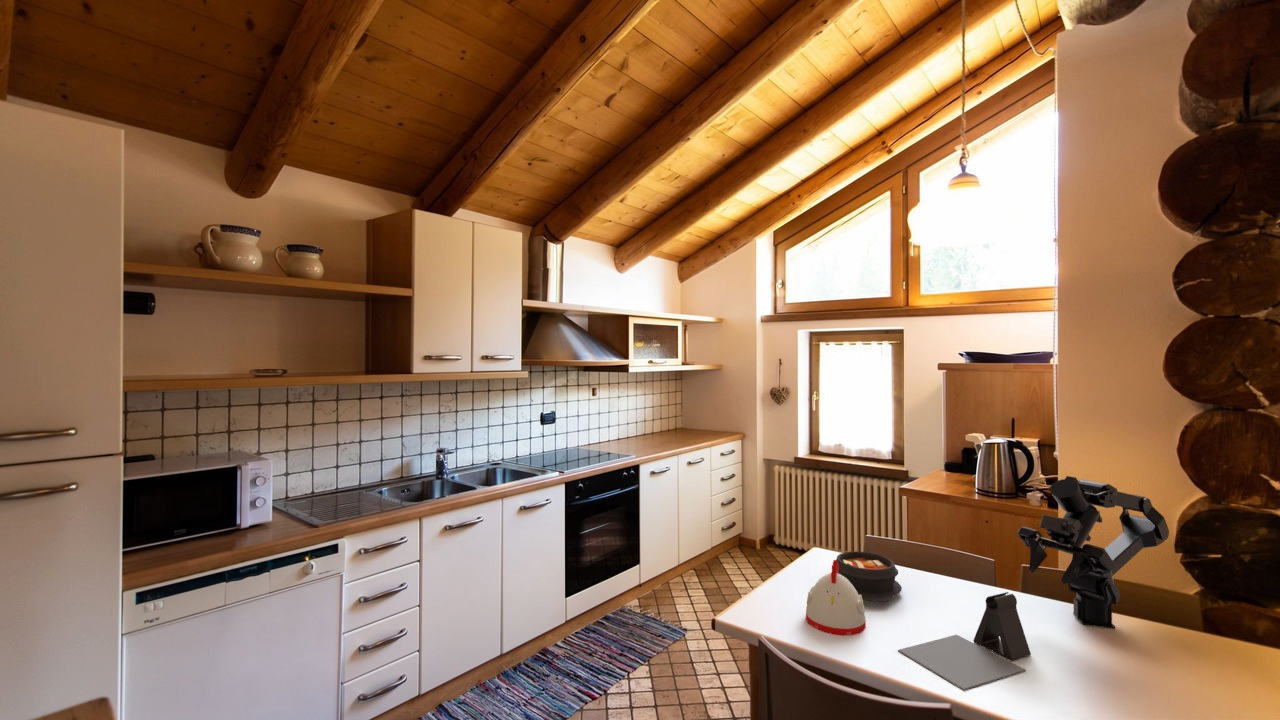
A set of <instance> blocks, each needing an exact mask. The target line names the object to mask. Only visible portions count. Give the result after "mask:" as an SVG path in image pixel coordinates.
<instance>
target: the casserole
mask: <svg viewBox="0 0 1280 720" xmlns="http://www.w3.org/2000/svg"><path fill="white" fill-rule="evenodd" d="M835 560H837V563H838V565H839V574H840V575H842V576H844V577H845V578H846V579H848V580H849V582H850V583H851V584H852V585H853V586H854V588H855V589H856V591H857V593H858V595H861V596H862V599H863V602H869V603H887V602H889V601H890V600H892V599H893V597H894V596H896V595H898V594H900V593H901V592H902V585H901V584H900V583H899V582H898V581H897V580H896V577H897V576H898V575H899V571H898V569H897V568H896V566H895V563H894V561H893V560H892V559H890V558H889V557H886V556H884V555H881V554H877V553H872V552H868V551H855V550H854V551H845V552H841V553H839V554H837V557H836V559H835Z"/></svg>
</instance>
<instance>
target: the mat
mask: <svg viewBox="0 0 1280 720" xmlns="http://www.w3.org/2000/svg"><path fill="white" fill-rule="evenodd" d="M897 652H899V653H901V654H902V655H904V656H905V657H907V658H909V659H911V660H913V661H914V662H915V663H918V664H919V665H921V666H922V667H923V668H925V669H928V670H929V671H931V672H932V673H934V674H936V675H938V677H941V678H943V679H944V680H946V681H947V682H949V683H951V684H952V685H954V686H956V687H958V688H959V689H960V690H962V691H967V690H969V689H972V688H973V689H974V688H976V687H980V686H982V685H985V684H989V683H991V682H994V681H998V680H997V679H999V680H1001V678H1002V679H1004V677H1005V678H1007V677H1011V676H1013V675H1017V674H1020V673H1024V672H1026V670H1027V669H1025V668H1024V667H1021V666H1019V665H1017V664H1016V663H1014V662H1013V661H1010V660H1008V659H1006V658H1004V657H1002V656H1000V655H998V654H996V653H994V652H993V651H990V650H988V649H986V648H984V647H982V646H980V645H978V644H976V643H974V642H972V641H970V640H969V639H966V638H964V637H962V636H961V635H959V634H954V635H949V636H946V637H942V638H939V639H935V640H931V641H928V642H923V643H919V644H915V645H911V646H907V647H903V648H900V649H898V650H897Z"/></svg>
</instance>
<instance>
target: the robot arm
mask: <svg viewBox="0 0 1280 720" xmlns="http://www.w3.org/2000/svg"><path fill="white" fill-rule="evenodd" d="M1049 491H1050V493H1051V495H1052V496H1053V498H1054V499H1055V501H1056V502H1057V504H1058V505H1059V507H1060V508H1061V509H1062V510H1063V511H1064V512H1066V513H1065V514H1064V515H1063V517H1062V518H1061V517H1055V516H1051V515H1048V514H1045V513H1044V514H1042V517H1041V520H1040V523H1039V528H1040V529H1044V530H1046V534H1047V536H1048V537H1050V538H1046V537H1044V536H1043V535H1042V533H1041V532H1040V531H1039V530H1038V529H1035V528H1030V527H1027V526H1021V527H1020V528H1019V530H1018V531H1017V532H1016V535H1017V536H1018V538H1019V539H1020V540H1021V542H1022V543H1023V544H1024V545H1025V547H1027V548H1028V549H1030V554H1029V555H1030V556H1029V566H1028V567H1029V568H1028V570H1029V572H1030V573H1032V574H1033V573H1034V572H1035V571H1037V569H1038V568H1039V567H1040V566H1041V564H1042V563H1043V562H1044V561H1045V560H1046V558H1047V557H1048V553H1047V552H1046V551H1045V550H1046V548H1050V549H1052V550H1056V551H1060V552H1064V553H1067V554H1070V555H1072V560H1071V561H1070V563H1069V565H1068V567H1067V568H1066V570H1065V571H1064V573H1063V575H1062V578H1061V580H1060V582H1061V583H1062V584H1063V585H1065V584H1067V587H1068V590H1069V592H1071V593H1075V597H1074V598H1073V612H1072V615H1073V616H1075V617H1076V619H1078V620H1079V622H1080V623H1081V624H1082V625H1085V626H1090V627H1091V626H1092V627H1100V628H1105V629H1106V628H1107V629H1116V625H1114V624H1113V605H1117V604H1118V602H1119V601H1120V599H1121V591H1120V590H1119V589H1118V586H1116V585H1115V583H1114V582H1115V581H1114V575H1116V574H1117V572H1119V571H1120V570H1121V569H1122V568H1123V567H1124V566H1125V565H1126V564H1127V563H1128V562H1130V561H1131V560H1132V559H1133V558H1134V557H1135V556H1136V555H1137V554H1138V553H1139V552H1141V551H1142V549H1146V548H1155V547H1158V546H1159V545H1161V544H1163V543H1164V542H1165V541H1166V540H1168V539H1169V535H1170V530H1169V527H1168V524H1167V522H1166V519H1165V517H1164V516H1163V515H1162V513H1160V512H1159V511H1158V510H1157V509H1156V508H1155V507H1154V506H1153V504H1152V501H1151V500H1150V498H1147V497H1146V496H1142V495H1138V494H1133V493H1132V494H1130V493H1126V492H1122V491H1118V488H1116V487H1115V486H1113V485H1112V484H1110V483H1103V482H1098V481H1093V480H1086V479H1077V477H1075V476H1070V475H1066V476H1065V478H1063V479H1060V480H1057V481H1055V482H1054V483H1052V484H1050V487H1049ZM1097 507H1100V508H1105V509H1109V508H1115V507H1119V508H1122V512H1121V514H1120V515H1119V517H1118V519H1119V522H1120V523H1121V529H1122V533H1121V534H1119V535H1118V536H1117V537H1116V538H1115V539H1114V540H1113V541H1111V543H1109V544H1108V545H1107V546H1106V547H1105V548H1104V547H1100V546H1097V545H1092V544H1089V543H1085V542H1086V541H1087V542H1090V541H1091V539H1092V537H1091V536H1090V533H1091V531H1093V528H1094V526H1095V525H1096V523H1100V524H1101V523H1103V518H1102V516H1101V512H1100V510H1098V509H1097ZM1129 510H1131V511H1134V512H1139V513H1142V514H1143V515H1144V516H1139V515H1134V514H1130V511H1129Z"/></svg>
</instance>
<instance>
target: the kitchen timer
mask: <svg viewBox="0 0 1280 720" xmlns="http://www.w3.org/2000/svg"><path fill="white" fill-rule="evenodd" d="M864 605H865V604H864V601H863V599H862V596H861V595H858V593H857V591H856V589H855V588H854V586H853V585H852V584H851V583H850V582H849V580H848V579H846V578H845V577H844V576H842V575H840V574H839V565H838V563H837V560H836V559H833V562H832V564H831V572H830V573H827V574H825V575H823V576H821V577H820V578H819V579H818V581H816V583H815V584H814V585H813V586H812V587H811V588H810V589H809V591H808V593H807V598H806V607H805V621H806V622H807V624H808V625H809V626H811V627H812V628H814V629H816V630H817V631H820V632H823V633H825V634H830V635H835V636H854V635H858V634H861V633H862V632H864V631H865V629H866V622H867V621H866V615H865V611H866V609H865V606H864Z"/></svg>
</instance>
